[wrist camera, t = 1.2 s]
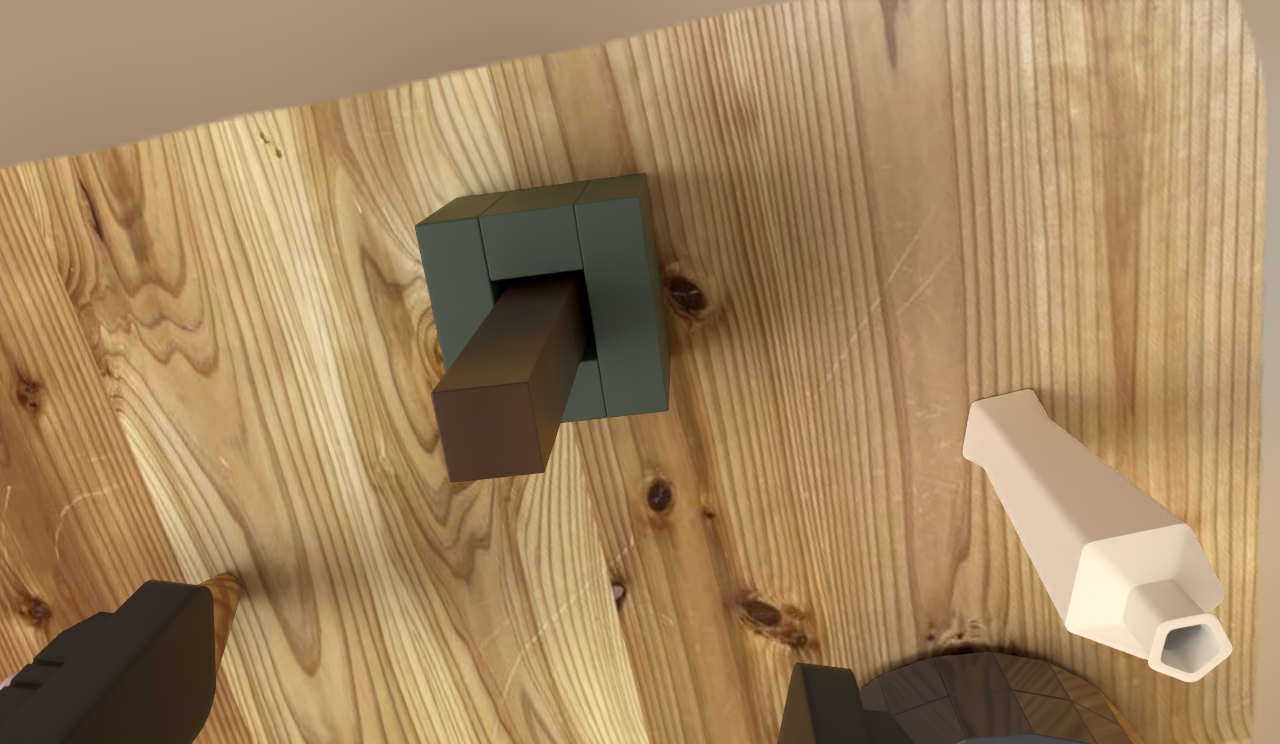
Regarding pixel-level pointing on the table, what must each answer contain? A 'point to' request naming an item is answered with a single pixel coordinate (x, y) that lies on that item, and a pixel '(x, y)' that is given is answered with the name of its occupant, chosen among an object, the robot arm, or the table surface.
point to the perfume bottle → (1100, 541)
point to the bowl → (996, 703)
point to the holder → (550, 243)
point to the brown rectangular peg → (514, 379)
